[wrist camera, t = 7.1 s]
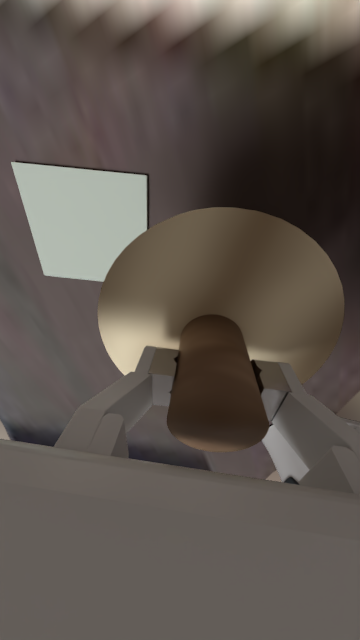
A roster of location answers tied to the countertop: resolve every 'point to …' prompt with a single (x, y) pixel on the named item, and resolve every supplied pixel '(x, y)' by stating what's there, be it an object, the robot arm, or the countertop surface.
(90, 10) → the countertop surface
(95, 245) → the mat
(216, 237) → the lid
